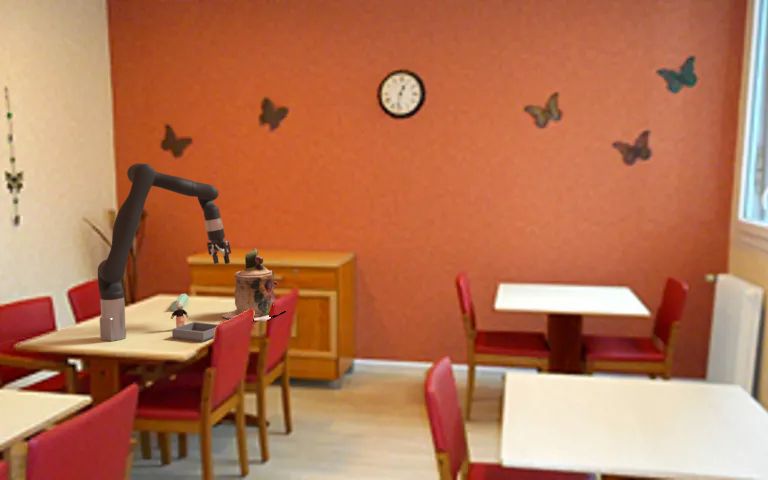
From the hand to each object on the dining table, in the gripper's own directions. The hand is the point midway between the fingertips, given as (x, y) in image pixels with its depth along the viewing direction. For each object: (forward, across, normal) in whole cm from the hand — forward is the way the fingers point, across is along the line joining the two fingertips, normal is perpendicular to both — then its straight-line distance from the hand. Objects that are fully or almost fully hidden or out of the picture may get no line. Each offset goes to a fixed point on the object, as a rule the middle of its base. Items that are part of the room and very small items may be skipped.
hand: (222, 263), depth 309 cm
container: (+24, -48, +3) cm, 54 cm away
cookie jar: (+30, -3, +15) cm, 33 cm away
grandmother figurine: (+24, -4, -25) cm, 35 cm away
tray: (+25, +12, -26) cm, 38 cm away
